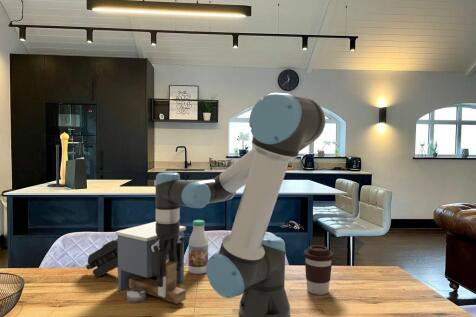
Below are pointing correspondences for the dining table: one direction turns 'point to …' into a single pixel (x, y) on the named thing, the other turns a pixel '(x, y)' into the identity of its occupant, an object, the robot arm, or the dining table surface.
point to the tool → (104, 258)
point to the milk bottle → (198, 249)
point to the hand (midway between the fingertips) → (167, 293)
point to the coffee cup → (318, 269)
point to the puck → (136, 294)
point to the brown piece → (172, 291)
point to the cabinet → (139, 253)
